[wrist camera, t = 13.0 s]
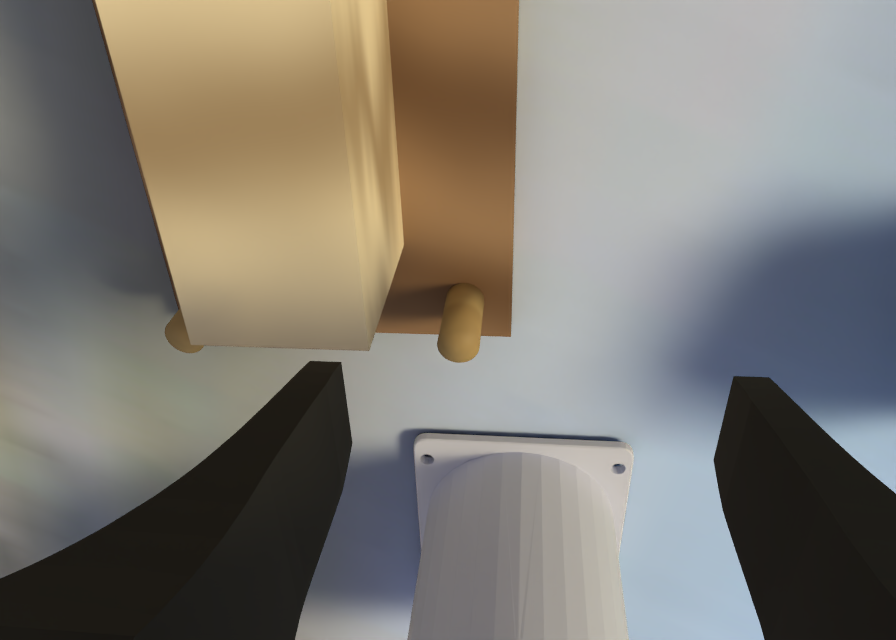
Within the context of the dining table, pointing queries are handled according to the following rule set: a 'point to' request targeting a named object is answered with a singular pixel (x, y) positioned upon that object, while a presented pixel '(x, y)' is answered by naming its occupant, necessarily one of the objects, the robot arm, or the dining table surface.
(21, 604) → the robot arm
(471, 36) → the chassis
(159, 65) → the block
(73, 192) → the dining table surface
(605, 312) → the dining table surface
